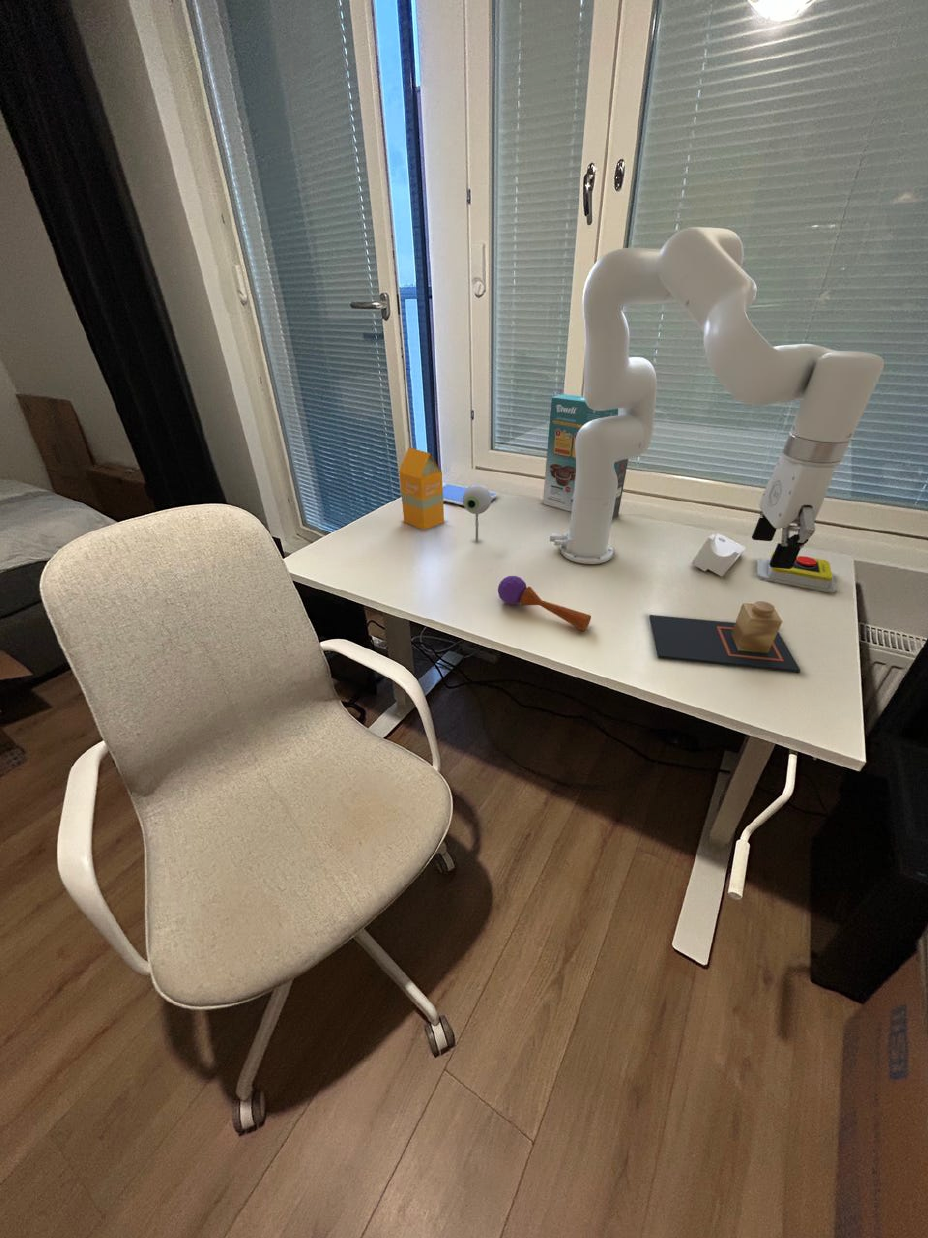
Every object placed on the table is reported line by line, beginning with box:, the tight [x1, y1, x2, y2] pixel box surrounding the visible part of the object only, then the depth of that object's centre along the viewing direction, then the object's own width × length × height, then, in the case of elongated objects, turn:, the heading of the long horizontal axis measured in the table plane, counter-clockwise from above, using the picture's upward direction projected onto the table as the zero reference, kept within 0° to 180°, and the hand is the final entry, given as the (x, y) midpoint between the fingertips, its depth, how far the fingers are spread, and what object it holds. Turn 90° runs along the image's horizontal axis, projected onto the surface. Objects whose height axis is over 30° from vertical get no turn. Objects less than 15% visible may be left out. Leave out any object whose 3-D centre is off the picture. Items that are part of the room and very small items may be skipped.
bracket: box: [691, 532, 747, 577], centre depth 112 cm, size 13×7×8 cm, turn 138°
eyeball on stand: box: [462, 484, 492, 543], centre depth 121 cm, size 7×7×15 cm
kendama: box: [497, 575, 592, 632], centre depth 96 cm, size 6×6×20 cm
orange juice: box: [398, 446, 445, 531], centre depth 130 cm, size 8×9×20 cm
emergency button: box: [756, 551, 837, 594], centre depth 107 cm, size 9×4×15 cm
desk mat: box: [649, 614, 801, 674], centre depth 89 cm, size 23×13×1 cm, turn 79°
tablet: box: [443, 483, 498, 506], centre depth 151 cm, size 19×13×1 cm, turn 57°
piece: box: [731, 600, 783, 653], centre depth 85 cm, size 5×5×8 cm
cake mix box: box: [542, 393, 629, 520], centre depth 134 cm, size 22×6×30 cm, turn 49°
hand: (770, 552), depth 80 cm, fingers open, 9 cm apart
